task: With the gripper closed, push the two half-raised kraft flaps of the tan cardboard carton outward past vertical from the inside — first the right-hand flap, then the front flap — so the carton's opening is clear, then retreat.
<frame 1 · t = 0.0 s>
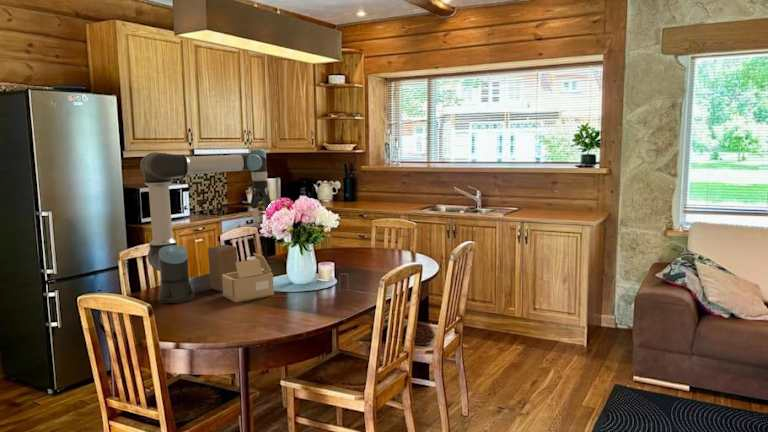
hand: (261, 222, 294), 28 cm above the table, fingers open, 13 cm apart
wooden block: (224, 288, 276), on the table
right flap: (262, 262, 264), point 14 cm above the table, hinge at 65.0°
front flap: (249, 268, 254), point 14 cm above the table, hinge at 65.0°
cup: (253, 278, 294), on the table
carton: (248, 295, 262), on the table
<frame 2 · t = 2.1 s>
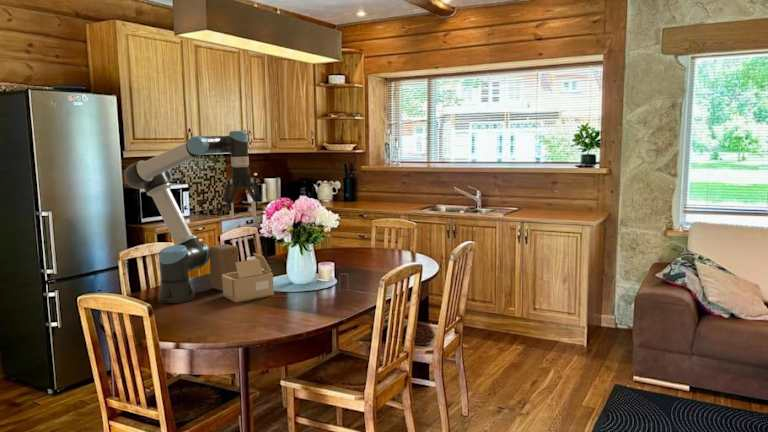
hand: (243, 216, 258), 36 cm above the table, fingers open, 10 cm apart
wooden block: (224, 288, 276), on the table, touching arm
everything else where it was.
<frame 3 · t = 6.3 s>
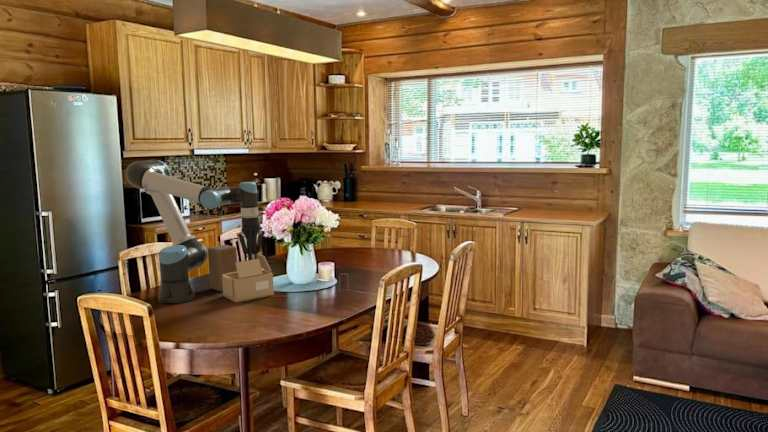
hand: (252, 268, 263), 12 cm above the table, fingers closed
wooden block: (224, 288, 276), on the table
right flap: (262, 262, 264), point 14 cm above the table, hinge at 67.0°, touching gripper
everything else where it was.
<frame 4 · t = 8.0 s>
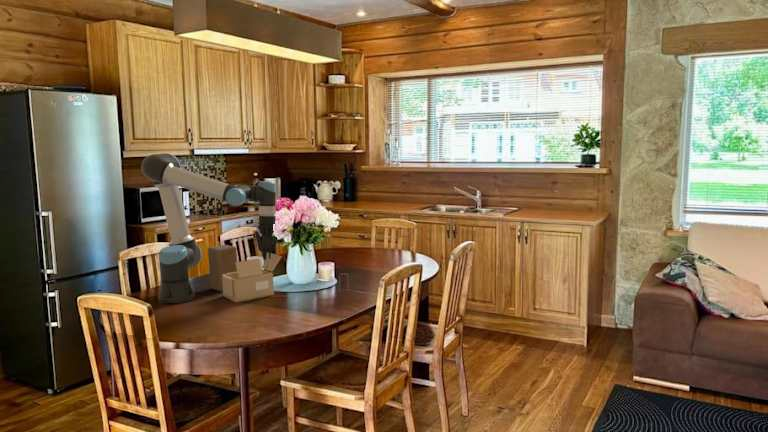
hand: (266, 266, 266), 12 cm above the table, fingers closed
right flap: (271, 262, 267), point 14 cm above the table, hinge at 130.4°, touching gripper
everything else where it was.
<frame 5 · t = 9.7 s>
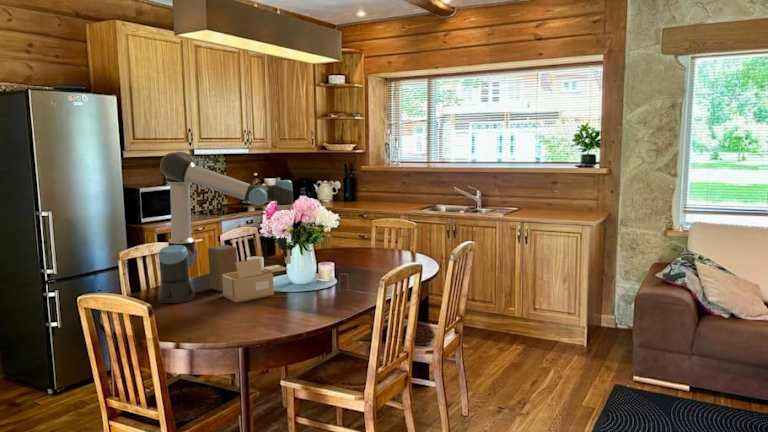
hand: (288, 263, 273), 12 cm above the table, fingers closed
right flap: (274, 268, 268), point 10 cm above the table, hinge at 179.9°
everything else where it was.
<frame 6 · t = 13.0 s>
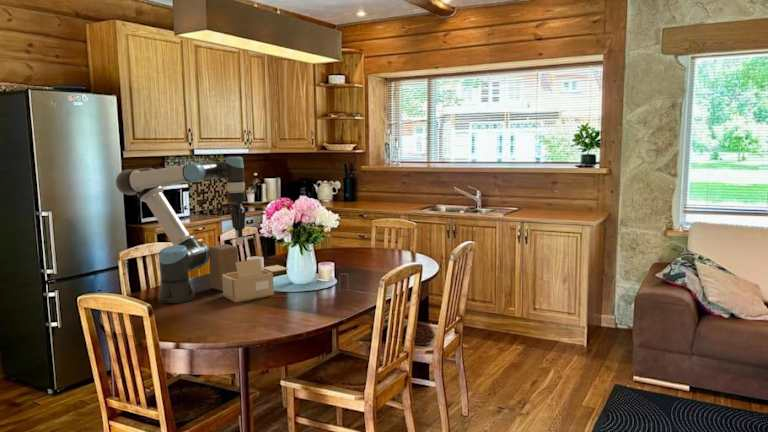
hand: (239, 244, 260), 23 cm above the table, fingers closed
wooden block: (224, 288, 276), on the table, touching arm
everything else where it was.
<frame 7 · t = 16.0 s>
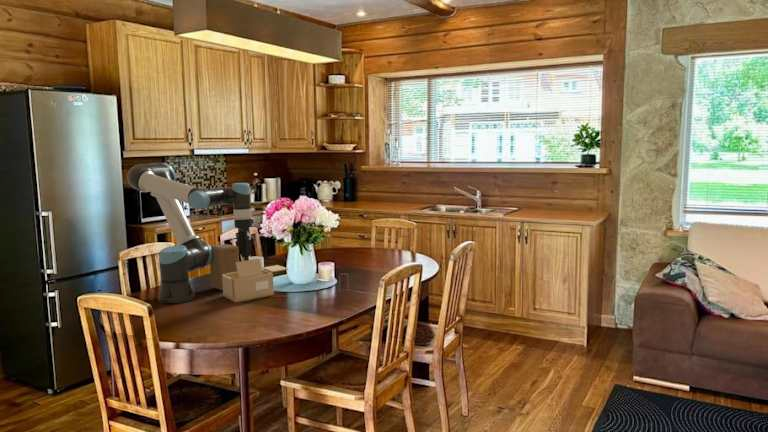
hand: (246, 271, 257), 12 cm above the table, fingers closed
wooden block: (224, 288, 276), on the table
front flap: (249, 268, 254), point 14 cm above the table, hinge at 67.4°, touching gripper
everything else where it was.
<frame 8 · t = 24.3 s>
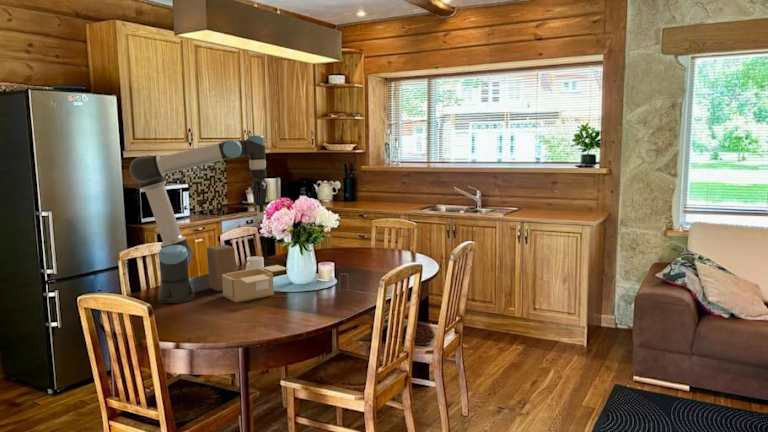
hand: (260, 218, 274), 32 cm above the table, fingers closed
front flap: (254, 278, 251), point 10 cm above the table, hinge at 184.7°
at the end: right flap at +180° (first picture: +65°); front flap at +185° (first picture: +65°) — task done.
